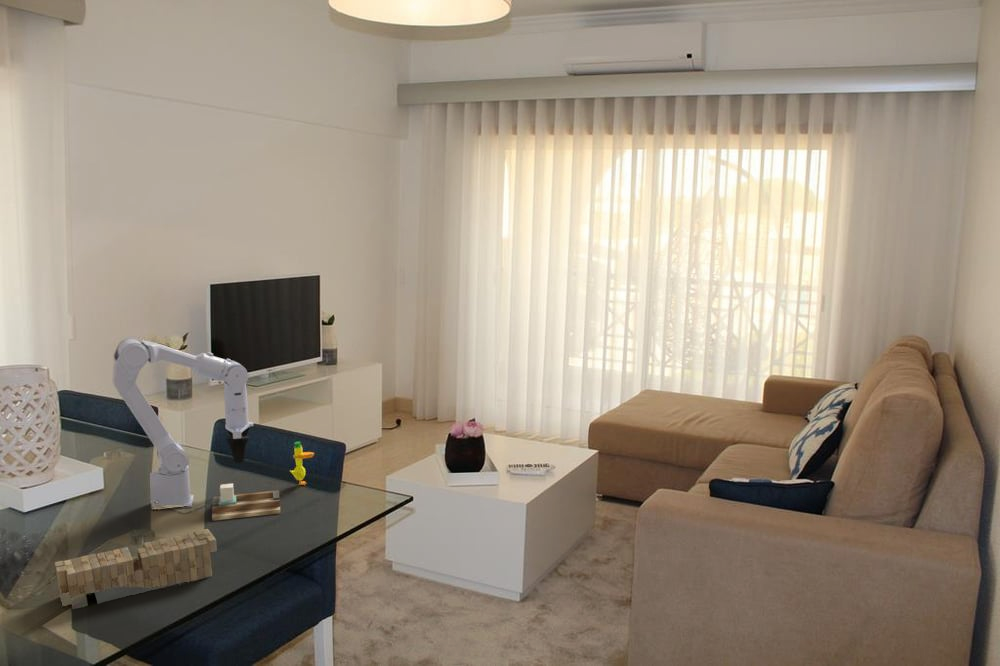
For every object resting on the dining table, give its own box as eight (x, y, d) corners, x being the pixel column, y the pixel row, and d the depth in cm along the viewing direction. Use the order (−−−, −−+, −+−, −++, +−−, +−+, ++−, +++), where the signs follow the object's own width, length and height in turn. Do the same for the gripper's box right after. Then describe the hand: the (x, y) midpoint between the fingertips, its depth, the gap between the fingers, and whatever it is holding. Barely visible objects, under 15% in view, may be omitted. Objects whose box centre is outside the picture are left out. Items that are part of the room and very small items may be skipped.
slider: (219, 510, 208) (217, 490, 207) (220, 503, 212) (218, 483, 212) (236, 508, 209) (234, 488, 208) (236, 501, 214) (235, 481, 213)
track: (212, 520, 204) (211, 509, 204) (214, 503, 215) (213, 493, 215) (280, 513, 208) (279, 502, 208) (279, 496, 220) (278, 486, 219)
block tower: (63, 618, 160) (220, 575, 175) (58, 576, 158) (216, 537, 173) (59, 601, 166) (211, 561, 181) (54, 561, 165) (207, 525, 180)
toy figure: (314, 481, 232) (312, 438, 230) (316, 485, 228) (314, 442, 227) (289, 483, 230) (287, 441, 228) (290, 488, 226) (288, 445, 224)
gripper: (252, 413, 214) (255, 464, 217) (252, 400, 228) (255, 448, 230) (223, 415, 212) (226, 467, 215) (225, 402, 226) (228, 451, 228)
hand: (239, 457), depth 222 cm, fingers open, 7 cm apart
